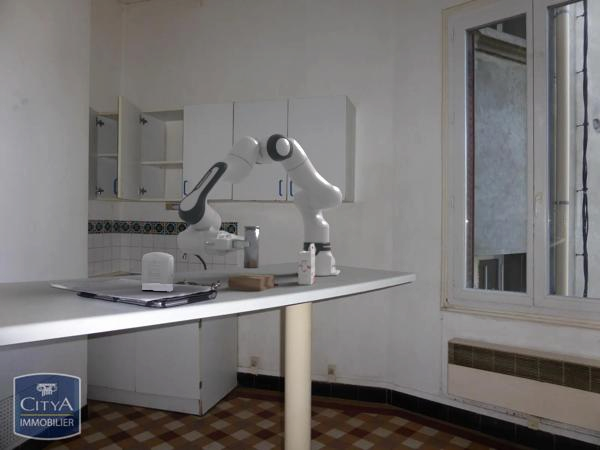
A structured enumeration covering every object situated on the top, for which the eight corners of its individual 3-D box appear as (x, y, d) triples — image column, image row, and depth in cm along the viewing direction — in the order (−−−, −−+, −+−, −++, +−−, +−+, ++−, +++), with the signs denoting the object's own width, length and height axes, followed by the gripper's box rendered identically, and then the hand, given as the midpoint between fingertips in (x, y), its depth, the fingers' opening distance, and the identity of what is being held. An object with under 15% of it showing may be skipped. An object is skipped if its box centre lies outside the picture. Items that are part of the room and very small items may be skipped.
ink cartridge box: (302, 281, 164) (302, 243, 164) (315, 282, 163) (315, 243, 163) (297, 284, 156) (298, 243, 156) (311, 285, 155) (311, 244, 155)
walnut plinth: (243, 285, 152) (243, 273, 152) (273, 287, 148) (273, 275, 148) (228, 288, 143) (228, 276, 143) (260, 291, 138) (260, 278, 138)
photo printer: (175, 290, 137) (176, 252, 137) (168, 292, 133) (169, 252, 133) (146, 289, 139) (146, 251, 139) (138, 291, 135) (139, 252, 135)
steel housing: (248, 266, 149) (248, 226, 149) (261, 267, 147) (262, 226, 147) (240, 268, 144) (241, 226, 144) (254, 268, 142) (254, 226, 142)
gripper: (201, 234, 141) (238, 235, 135) (234, 233, 160) (267, 234, 154) (201, 253, 141) (237, 255, 135) (233, 250, 159) (267, 252, 154)
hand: (253, 244), depth 145 cm, fingers closed on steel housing, 5 cm apart
